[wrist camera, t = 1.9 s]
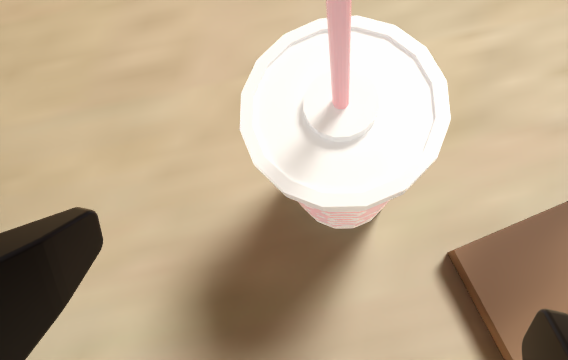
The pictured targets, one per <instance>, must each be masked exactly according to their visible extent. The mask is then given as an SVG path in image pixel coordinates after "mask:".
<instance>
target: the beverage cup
mask: <svg viewBox="0 0 568 360" xmlns="http://www.w3.org/2000/svg"><path fill="white" fill-rule="evenodd" d="M326 8H327V18H322V19H317V20H315V21H313V22H310V23H308V24H306V25H304V26H301V27H299V28H297V29H295V30H292V31H290V32H288V33H286V34H284V35H283V36H282V37H281V38H279V39H278V40H277V41H276V42H275V43H274V44H273V45H272V46H271V47H270V48H269V49H268V50H267V51H266V52H265V53H264V54H263V55H262V56H261V57H259V58H258V59H257V61H256V63H255V65H254V67H253V69H252V71H251V73H250V76H249V78H248V80H247V82H246V84H245V86H244V88H243V90H242V92H241V111H240V131H241V134H242V136H243V139H244V141H245V144H246V146H247V149H248V151H249V154H250V156H251V159H252V161H253V164H254V165H255V167H256V168H257V169H258V170H259V171H260V172H261V173H262V174H263V175H264V176H265V177H266V178H267V179H268V180H269V181H270V182H272V183H273V184H274V185H275V186H276V187H277V188H278V189H279V190H280V191H281V192H282V193H283V194H284V195H285V196H286V197H287V198H290V199H293V200H295V201H298V203H299V204H300V205H301V206H302V207H303V208H304V209H305V210H306V211H307V212H308V213H309V214H310V215H311V216H312V217H313V218H314V219H315V220H316V221H317V222H319V223H322V224H324V225H327V226H329V227H332V228H335V229H341V228H355V227H358V226H360V225H362V224H365V223H367V222H369V221H371V220H372V219H373V218H374V217H375V216H376V215H377V214H378V213H379V212H380V211H381V210H382V208H383V207H384V206H385V205H386V204H387V203H388V202H389V200H391V199H393V198H396V197H398V196H400V195H403V194H404V193H405V192H406V191H407V190H408V189H409V187H410V186H411V185H412V184H413V183H414V182H415V181H416V180H417V179H418V178H419V177H420V176H421V175H422V174H423V173H424V172H425V171H426V170H427V169H428V168H429V167H430V166H431V165H432V163H433V162H434V161H435V160H436V159H437V157H438V154H439V151H440V149H441V146H442V143H443V140H444V137H445V134H446V132H447V129H448V126H449V123H450V120H451V116H450V106H449V97H448V88H447V80H446V78H445V77H444V75H443V74H442V72H441V70H440V69H439V67H438V65H437V64H436V62H435V60H434V59H433V57H432V55H431V54H430V52H429V51H428V49H427V47H425V46H424V45H422V44H421V43H420V42H418V41H417V40H415V39H414V38H413V37H411V36H410V35H408V34H407V33H406V32H404V31H403V30H401V29H400V28H398V27H397V26H396V25H393V24H389V23H385V22H381V21H377V20H373V19H369V18H366V17H362V16H358V15H357V16H351V0H326Z"/></svg>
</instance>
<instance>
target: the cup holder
mask: <svg viewBox="0 0 568 360" xmlns="http://www.w3.org/2000/svg"><path fill="white" fill-rule="evenodd" d="M448 255H449V257H450V259H451V261H452V262H453V264H454V266H455V268H456V270H457V272H458V274H459V276H460V277H461V279H462V281H463V283H464V285H465V287H466V289H467V291H468V292H469V294H470V296H471V298H472V300H473V302H474V304H475V306H476V307H477V309H478V311H479V313H480V315H481V317H482V319H483V321H484V323H485V324H486V326H487V328H488V330H489V332H490V334H491V336H492V338H493V339H494V341H495V343H496V345H497V347H498V349H499V351H500V353H501V354H502V356H503V358H504V360H522V350H521V348H522V340H523V337H524V335H525V333H526V332H527V330H528V328H529V326H530V324H531V322H532V321H533V319H534V317H535V315H536V313H537V312H538V311H539V310H540V309H550V310H555V311H559V312H564V313H566V314H568V201H567V202H565V203H562V204H560V205H558V206H555V207H553V208H551V209H548V210H546V211H544V212H541V213H539V214H537V215H534V216H532V217H530V218H527V219H525V220H523V221H520V222H518V223H516V224H513V225H511V226H509V227H506V228H504V229H502V230H499V231H497V232H495V233H492V234H490V235H488V236H485V237H483V238H481V239H478V240H476V241H474V242H471V243H469V244H467V245H464V246H462V247H460V248H457V249H455V250H452V251H450V252H448Z"/></svg>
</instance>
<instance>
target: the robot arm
mask: <svg viewBox="0 0 568 360" xmlns="http://www.w3.org/2000/svg"><path fill="white" fill-rule="evenodd" d="M102 245H103V237H102V232H101V228H100V224H99V219H98V216H97V214H96V212H95V211H93V210H90V209H85V208H81V207H75V208H72V209H69V210H66V211H63V212H61V213H58V214H55V215H52V216H49V217H46V218H43V219H40V220H37V221H34V222H32V223H29V224H26V225H23V226H20V227H17V228H14V229H11V230H8V231H5V232H3V233H0V360H25V359H26V358H27V357H28V356H29V354H30V353H31V352H32V350H33V349H34V348H35V346H36V345H37V344H38V342H39V341H40V340H41V339H42V337H43V336H44V335H45V333H46V332H47V331H48V329H49V328H50V327H51V325H52V324H53V323H54V321H55V320H56V319H57V318H58V316H59V315H60V313H61V312H62V311H63V309H64V308H65V306H66V305H67V303H68V302H69V300H70V299H71V297H72V296H73V294H74V292H75V291H76V289H77V288H78V286H79V284H80V283H81V281H82V280H83V278H84V276H85V275H86V273H87V271H88V270H89V268H90V267H91V265H92V263H93V262H94V260H95V259H96V257H97V255H98V254H99V252H100V250H101V248H102ZM521 350H522V360H568V314H566V313H564V312H559V311H555V310H550V309H540V310H539V311H538V312H537V313H536V315H535V317H534V319H533V321H532V322H531V324H530V326H529V328H528V330H527V332H526V333H525V335H524V337H523V340H522V348H521Z"/></svg>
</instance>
